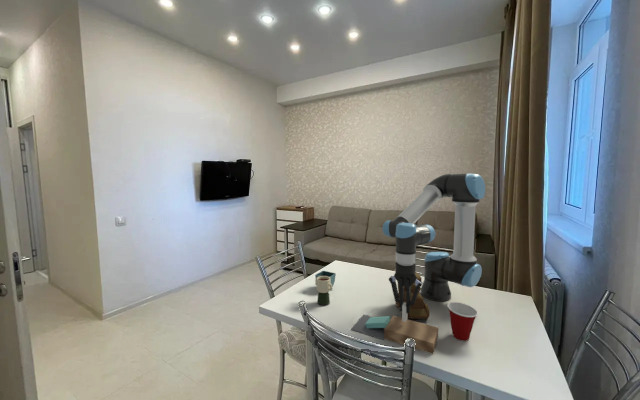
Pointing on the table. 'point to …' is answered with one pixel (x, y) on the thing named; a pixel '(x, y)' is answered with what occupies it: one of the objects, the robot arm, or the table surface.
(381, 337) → the mat
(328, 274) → the flower pot
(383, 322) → the teal rectangular block
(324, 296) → the character mug
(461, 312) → the plastic cup
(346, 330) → the table surface
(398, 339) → the brown rectangular block
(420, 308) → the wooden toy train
